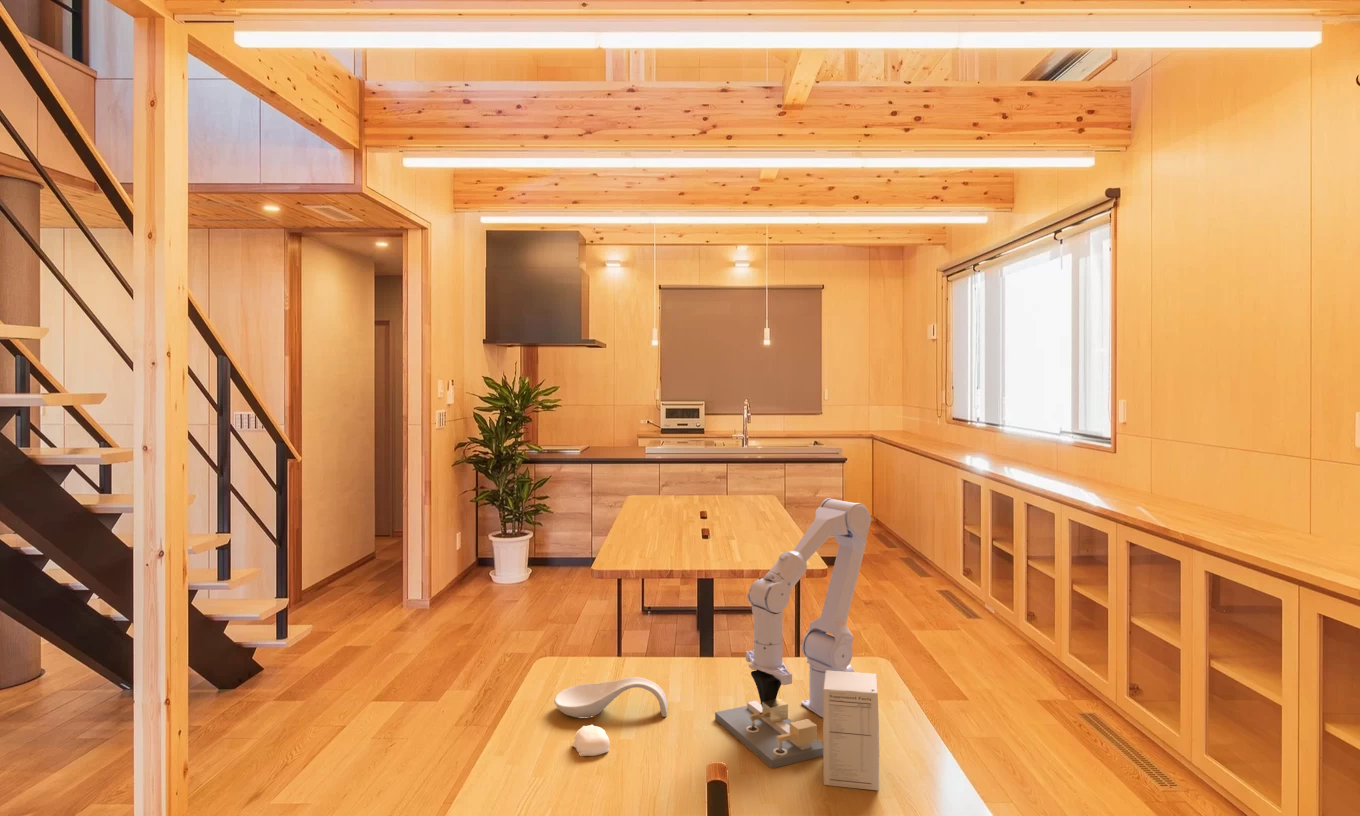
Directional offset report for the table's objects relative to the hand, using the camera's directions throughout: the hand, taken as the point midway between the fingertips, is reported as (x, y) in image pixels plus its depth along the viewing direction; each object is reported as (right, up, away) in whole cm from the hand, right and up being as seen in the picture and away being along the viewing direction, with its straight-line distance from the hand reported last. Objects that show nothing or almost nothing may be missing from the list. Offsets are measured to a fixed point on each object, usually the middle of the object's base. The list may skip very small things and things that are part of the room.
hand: (767, 707), depth 152 cm
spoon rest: (-32, -4, +7) cm, 33 cm away
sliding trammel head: (0, -2, -3) cm, 4 cm away
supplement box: (+12, -5, -19) cm, 23 cm away
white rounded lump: (-34, -5, -8) cm, 36 cm away
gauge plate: (0, -4, -4) cm, 6 cm away
